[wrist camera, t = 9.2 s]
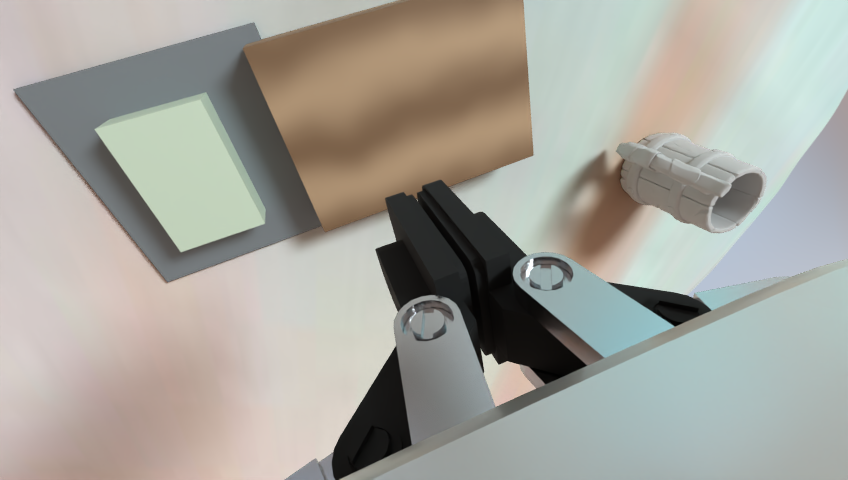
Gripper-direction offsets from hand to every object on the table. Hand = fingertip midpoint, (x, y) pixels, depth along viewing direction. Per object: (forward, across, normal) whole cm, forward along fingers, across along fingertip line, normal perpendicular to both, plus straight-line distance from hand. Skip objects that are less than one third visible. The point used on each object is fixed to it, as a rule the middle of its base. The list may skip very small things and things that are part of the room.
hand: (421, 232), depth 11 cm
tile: (+19, +11, +2) cm, 22 cm away
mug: (+21, -28, +14) cm, 38 cm away
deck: (+21, -5, +2) cm, 21 cm away
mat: (+21, +10, +2) cm, 23 cm away
